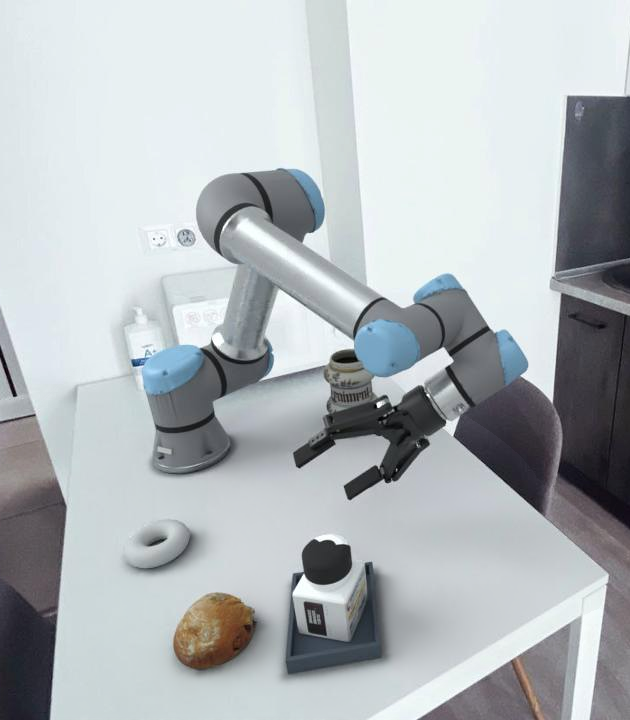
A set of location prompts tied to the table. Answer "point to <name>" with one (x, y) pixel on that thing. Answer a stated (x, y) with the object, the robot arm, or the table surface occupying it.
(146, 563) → the donut
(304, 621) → the container
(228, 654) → the bread roll
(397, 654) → the table surface
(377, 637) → the tray
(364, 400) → the apothecary jar
